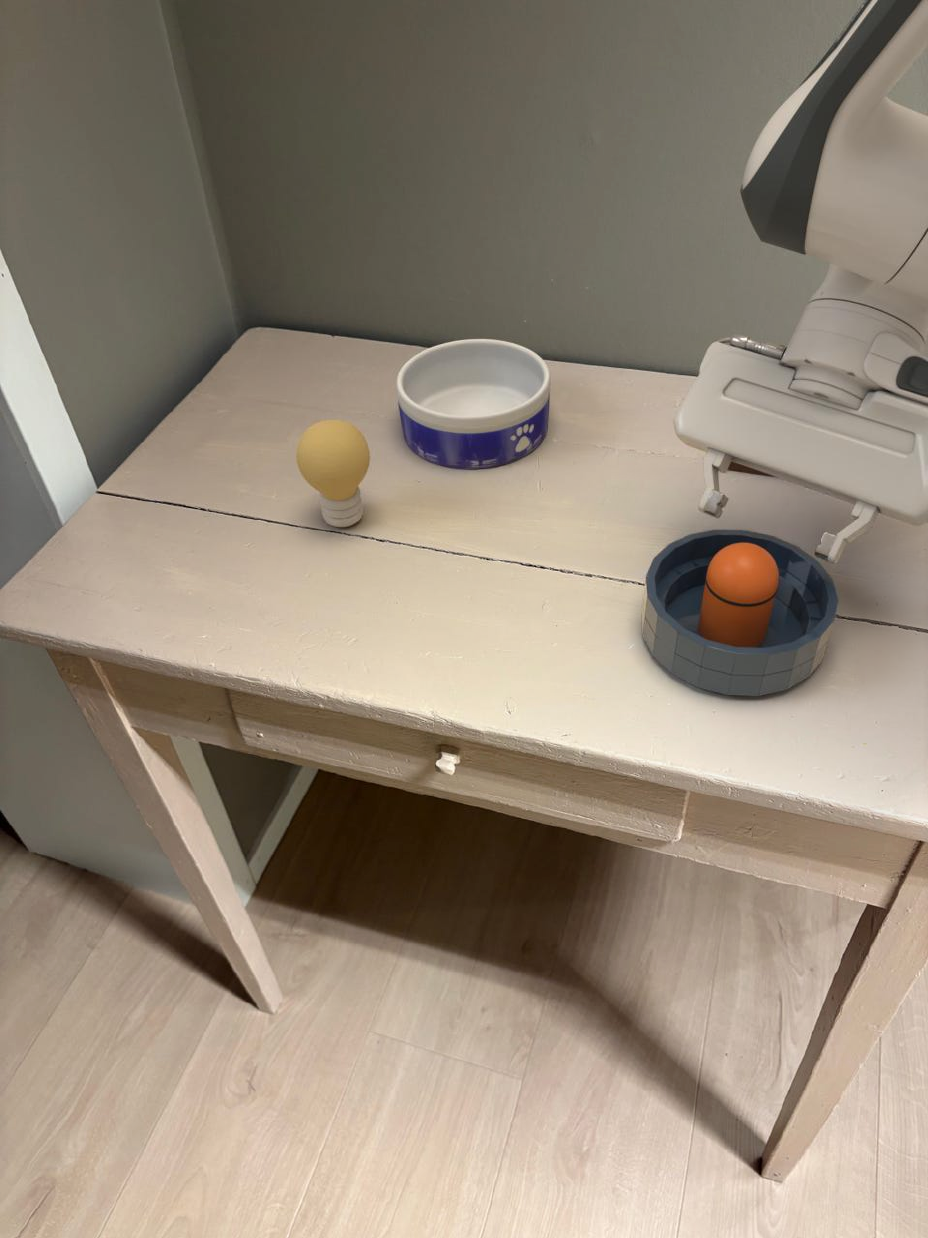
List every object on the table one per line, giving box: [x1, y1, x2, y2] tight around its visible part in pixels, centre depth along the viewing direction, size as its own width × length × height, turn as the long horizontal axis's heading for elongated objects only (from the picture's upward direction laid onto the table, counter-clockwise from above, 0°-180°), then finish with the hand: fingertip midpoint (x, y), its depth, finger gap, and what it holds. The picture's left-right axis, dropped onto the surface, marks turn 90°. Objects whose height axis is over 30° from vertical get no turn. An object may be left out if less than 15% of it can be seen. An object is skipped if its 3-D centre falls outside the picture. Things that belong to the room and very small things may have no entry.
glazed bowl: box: [640, 528, 839, 697], centre depth 74 cm, size 14×14×5 cm
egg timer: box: [698, 543, 779, 648], centre depth 73 cm, size 5×5×8 cm
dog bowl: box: [396, 338, 551, 470], centre depth 97 cm, size 15×15×6 cm
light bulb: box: [296, 419, 371, 528], centre depth 85 cm, size 6×6×10 cm
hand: (764, 536), depth 72 cm, fingers open, 8 cm apart
